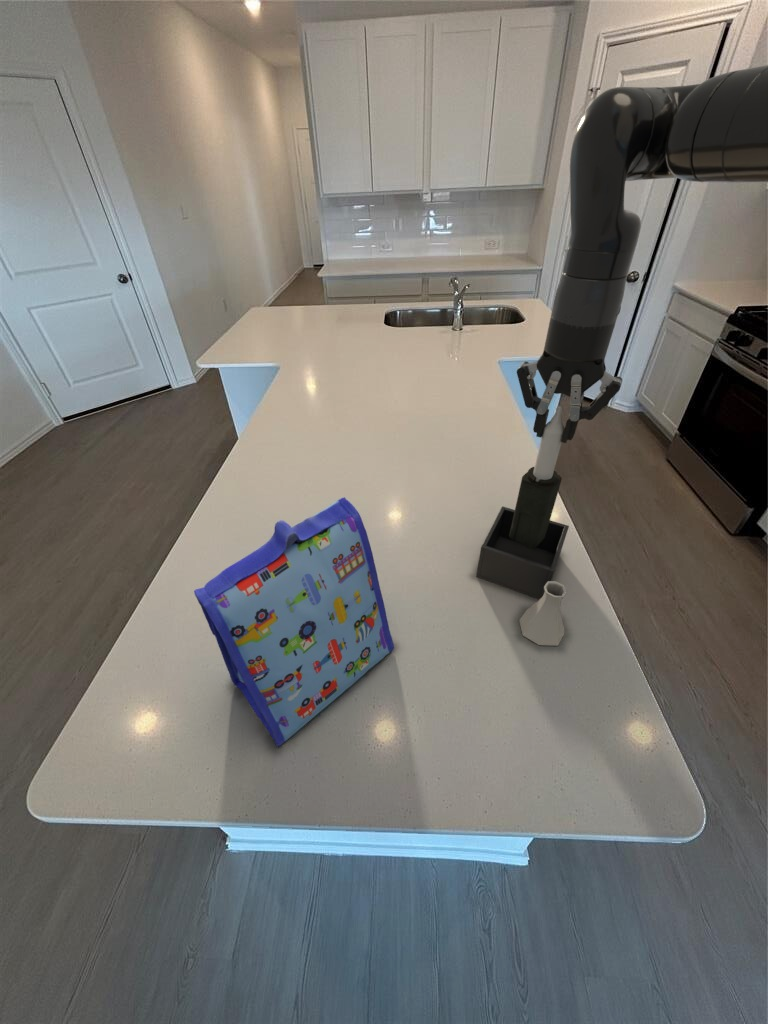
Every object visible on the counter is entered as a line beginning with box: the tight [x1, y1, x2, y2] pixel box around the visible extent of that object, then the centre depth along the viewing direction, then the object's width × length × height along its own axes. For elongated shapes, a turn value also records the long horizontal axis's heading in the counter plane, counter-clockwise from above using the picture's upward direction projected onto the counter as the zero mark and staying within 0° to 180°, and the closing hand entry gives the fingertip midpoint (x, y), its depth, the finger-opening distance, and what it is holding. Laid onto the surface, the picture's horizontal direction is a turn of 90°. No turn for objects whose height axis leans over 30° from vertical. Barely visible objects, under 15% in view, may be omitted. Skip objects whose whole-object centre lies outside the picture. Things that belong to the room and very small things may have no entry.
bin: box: [475, 505, 570, 600], centre depth 80 cm, size 12×12×8 cm
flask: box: [518, 580, 567, 647], centre depth 69 cm, size 7×7×10 cm
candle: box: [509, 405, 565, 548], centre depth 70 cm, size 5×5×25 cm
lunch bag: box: [193, 497, 395, 747], centre depth 59 cm, size 22×14×29 cm, turn 133°
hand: (552, 437), depth 65 cm, fingers closed on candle, 3 cm apart
